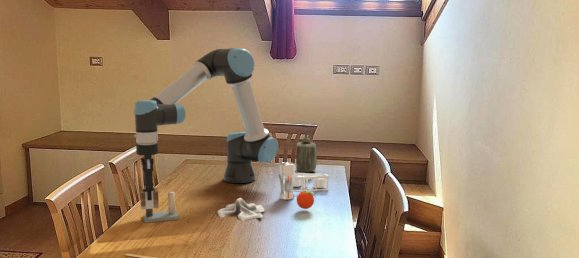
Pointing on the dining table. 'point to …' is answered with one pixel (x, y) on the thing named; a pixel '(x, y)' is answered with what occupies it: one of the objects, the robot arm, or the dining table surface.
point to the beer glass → (286, 180)
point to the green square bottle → (306, 155)
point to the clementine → (305, 199)
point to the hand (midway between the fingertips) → (149, 205)
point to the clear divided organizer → (318, 181)
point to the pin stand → (162, 212)
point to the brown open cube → (155, 198)
